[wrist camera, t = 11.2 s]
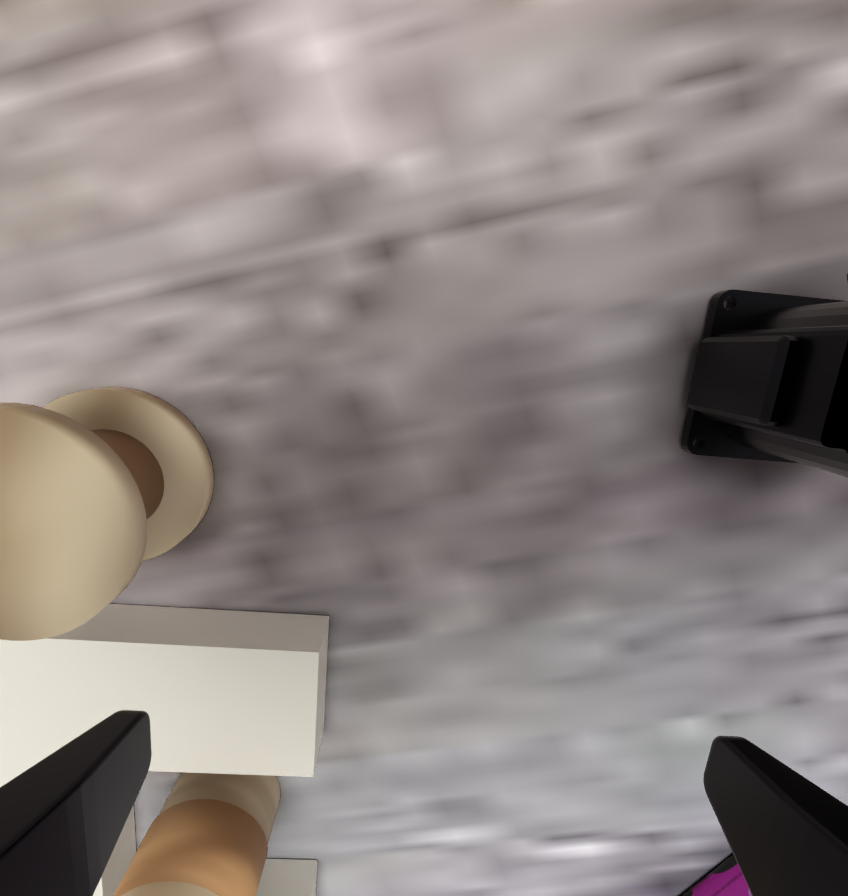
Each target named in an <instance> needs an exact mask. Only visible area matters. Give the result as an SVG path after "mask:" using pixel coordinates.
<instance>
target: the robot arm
mask: <svg viewBox="0 0 848 896" xmlns="http://www.w3.org/2000/svg"><path fill="white" fill-rule="evenodd" d="M847 280H848V274H847ZM726 298H727V299H728V300H729V307H728V308H727V309H725V307H724V301H725V299H726ZM688 405H689V408H688V413H687V417H686V422H685V427H684V431H683V436H682V447H683V449H684V450H686V451H687V452H690V453H692V454H696V455H706V456H719V457H731V458H744V459H757V460H769V461H782V462H794V463H802V464H805V465H808V466H812V467H815V468H819V469H822V470H825V471H829V472H832V473H835V474H839V475H842V476H845V477H848V301H840V300H830V299H820V298H810V297H801V296H791V295H781V294H771V293H761V292H751V291H741V290H727V291H721V292H719V293H717V294H716V295H715V296H714V297H713V299H712V301H711V305H710V309H709V314H708V319H707V324H706V328H705V333H704V338H703V341H702V342H701V343H700V346H699V351H698V356H697V360H696V365H695V370H694V374H693V379H692V384H691V389H690V393H689V398H688ZM697 437H698V438H699V443H698V445H696V446H693V442H694V439H696V438H697ZM151 755H152V752H151V731H150V718H149V715H148V713H147V712H145V711H136V710H120V711H117V712H115V713H114V714H112V715H110V716H109V717H107V718H106V719H104V720H103V721H101V722H100V723H98V724H96V725H95V726H93V727H92V728H90V729H89V730H87V731H86V732H84V733H83V734H81V735H80V736H78V737H77V738H75V739H73V740H72V741H70V742H69V743H67V744H66V745H64V746H63V747H61V748H60V749H58V750H57V751H55V752H54V753H52V754H50V755H49V756H47V757H46V758H44V759H43V760H41V761H40V762H38V763H37V764H35V765H34V766H32V767H31V768H29V769H27V770H26V771H24V772H23V773H21V774H20V775H18V776H17V777H15V778H14V779H12V780H11V781H9V782H8V783H6V784H4V785H3V786H1V787H0V896H93V894H94V892H95V890H96V888H97V885H98V883H99V881H100V879H101V877H102V875H103V872H104V870H105V868H106V866H107V863H108V861H109V859H110V857H111V854H112V852H113V850H114V848H115V845H116V843H117V841H118V839H119V836H120V834H121V832H122V829H123V827H124V825H125V823H126V820H127V818H128V816H129V814H130V811H131V809H132V807H133V805H134V802H135V800H136V798H137V796H138V793H139V791H140V789H141V787H142V784H143V782H144V780H145V778H146V775H147V773H148V770H149V767H150V763H151ZM704 787H705V790H706V793H707V796H708V798H709V801H710V803H711V805H712V807H713V810H714V812H715V814H716V816H717V818H718V821H719V823H720V825H721V827H722V830H723V832H724V834H725V836H726V839H727V841H728V843H729V845H730V847H731V850H732V852H733V854H734V856H735V859H736V861H737V863H738V865H739V867H740V870H741V872H742V874H743V876H744V879H745V881H746V883H747V885H748V888H749V890H750V892H751V894H752V896H848V806H847V805H845V804H844V803H842V802H841V801H839V800H838V799H836V798H835V797H833V796H832V795H830V794H829V793H827V792H826V791H824V790H822V789H821V788H819V787H818V786H816V785H815V784H813V783H812V782H810V781H809V780H807V779H806V778H804V777H803V776H801V775H800V774H798V773H797V772H795V771H794V770H792V769H791V768H789V767H788V766H786V765H785V764H783V763H782V762H780V761H779V760H777V759H776V758H774V757H772V756H771V755H769V754H768V753H766V752H765V751H763V750H762V749H760V748H759V747H757V746H756V745H754V744H753V743H751V742H750V741H748V740H747V739H745V738H742V737H737V736H718V737H716V738H715V739H714V740H713V742H712V746H711V749H710V753H709V757H708V761H707V764H706V768H705V772H704Z"/></svg>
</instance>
